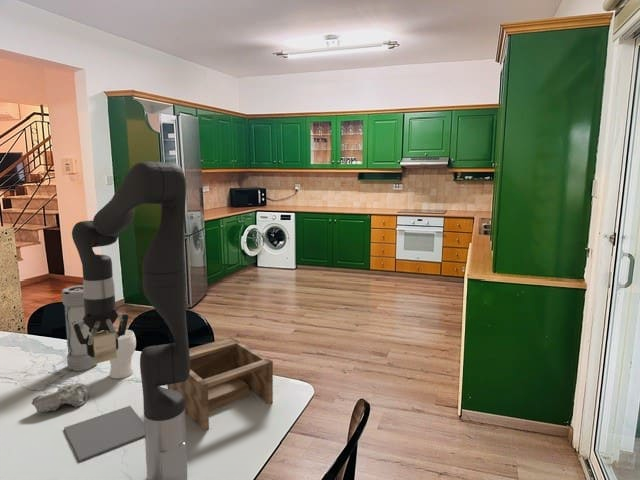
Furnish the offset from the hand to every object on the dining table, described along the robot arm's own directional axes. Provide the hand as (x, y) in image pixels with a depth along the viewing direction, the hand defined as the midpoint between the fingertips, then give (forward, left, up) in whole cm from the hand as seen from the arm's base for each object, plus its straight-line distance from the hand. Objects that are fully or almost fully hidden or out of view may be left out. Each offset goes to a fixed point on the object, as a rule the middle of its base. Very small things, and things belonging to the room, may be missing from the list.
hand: (103, 353), depth 117 cm
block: (0, 0, -1) cm, 1 cm away
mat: (0, 0, -23) cm, 23 cm away
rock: (+23, +6, -24) cm, 33 cm away
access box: (-4, -33, -23) cm, 40 cm away
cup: (+34, -14, -24) cm, 44 cm away
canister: (+50, -5, -24) cm, 55 cm away
